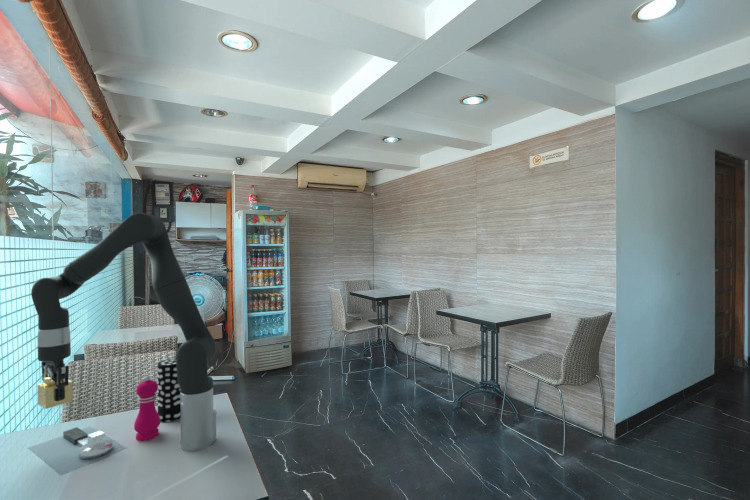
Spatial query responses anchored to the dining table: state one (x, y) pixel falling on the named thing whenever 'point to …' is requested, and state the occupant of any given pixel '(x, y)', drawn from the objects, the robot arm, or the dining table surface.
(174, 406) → the spotted tube
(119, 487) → the dining table surface
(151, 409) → the pepper mill
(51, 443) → the mat
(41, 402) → the brass knob block
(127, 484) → the dining table surface
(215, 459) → the dining table surface
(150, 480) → the dining table surface
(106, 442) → the metal ladle
